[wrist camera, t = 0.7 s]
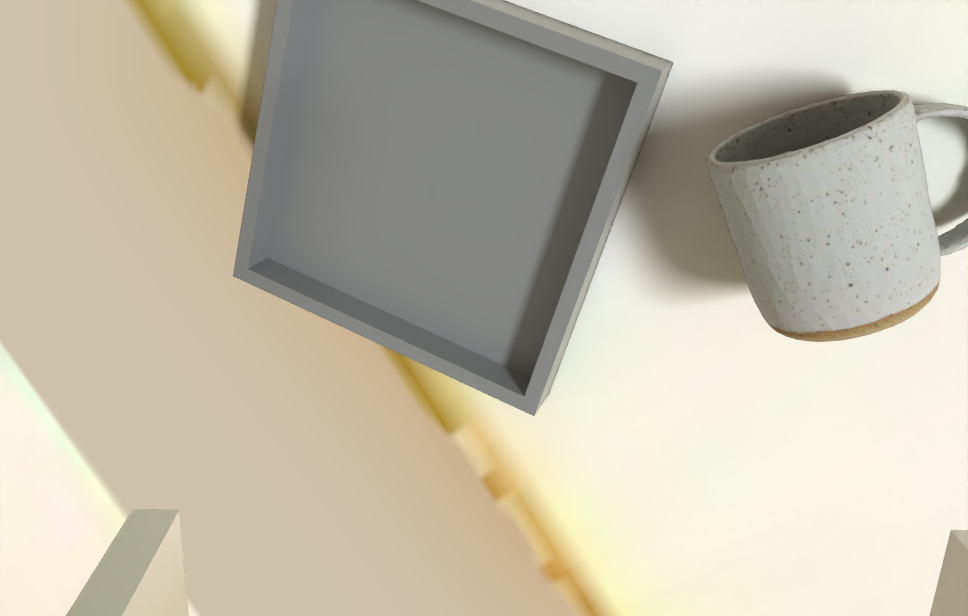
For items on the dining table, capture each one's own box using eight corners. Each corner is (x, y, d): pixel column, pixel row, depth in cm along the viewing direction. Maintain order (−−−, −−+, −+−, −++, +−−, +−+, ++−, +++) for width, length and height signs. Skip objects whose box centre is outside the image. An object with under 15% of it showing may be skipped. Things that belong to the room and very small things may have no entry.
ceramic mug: (770, 301, 42) (756, 371, 36) (717, 132, 40) (691, 173, 34) (1031, 239, 38) (1071, 308, 31) (984, 45, 36) (1016, 74, 29)
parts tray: (316, -69, 44) (288, -68, 42) (673, 62, 40) (662, 70, 38) (259, 261, 52) (233, 276, 50) (548, 393, 48) (534, 416, 46)
